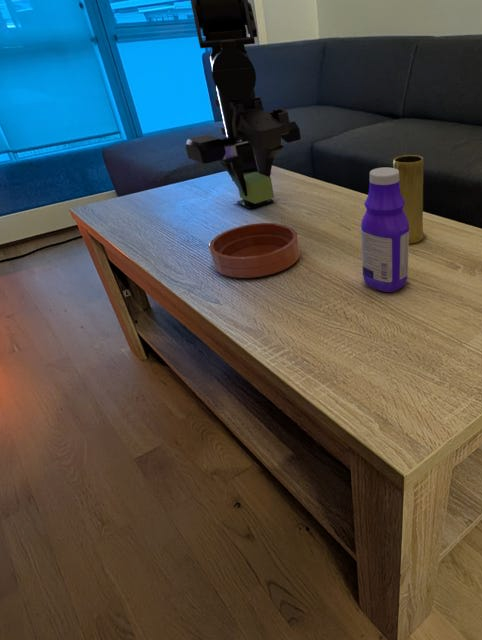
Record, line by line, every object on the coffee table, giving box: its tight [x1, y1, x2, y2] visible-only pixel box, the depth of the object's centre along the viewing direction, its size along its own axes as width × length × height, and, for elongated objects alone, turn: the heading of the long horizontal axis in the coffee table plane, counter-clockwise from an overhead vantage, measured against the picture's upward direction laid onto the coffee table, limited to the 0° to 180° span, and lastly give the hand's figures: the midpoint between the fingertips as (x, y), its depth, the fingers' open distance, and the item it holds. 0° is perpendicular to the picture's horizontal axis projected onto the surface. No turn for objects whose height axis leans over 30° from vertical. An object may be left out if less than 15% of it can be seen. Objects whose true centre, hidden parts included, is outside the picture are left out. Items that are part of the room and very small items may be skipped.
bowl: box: [208, 222, 301, 279], centre depth 81 cm, size 16×16×4 cm
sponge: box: [238, 172, 275, 204], centre depth 78 cm, size 5×4×4 cm
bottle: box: [360, 166, 410, 293], centre depth 66 cm, size 7×6×17 cm
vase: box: [392, 154, 425, 245], centre depth 81 cm, size 6×6×14 cm
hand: (255, 192), depth 79 cm, fingers closed on sponge, 4 cm apart
